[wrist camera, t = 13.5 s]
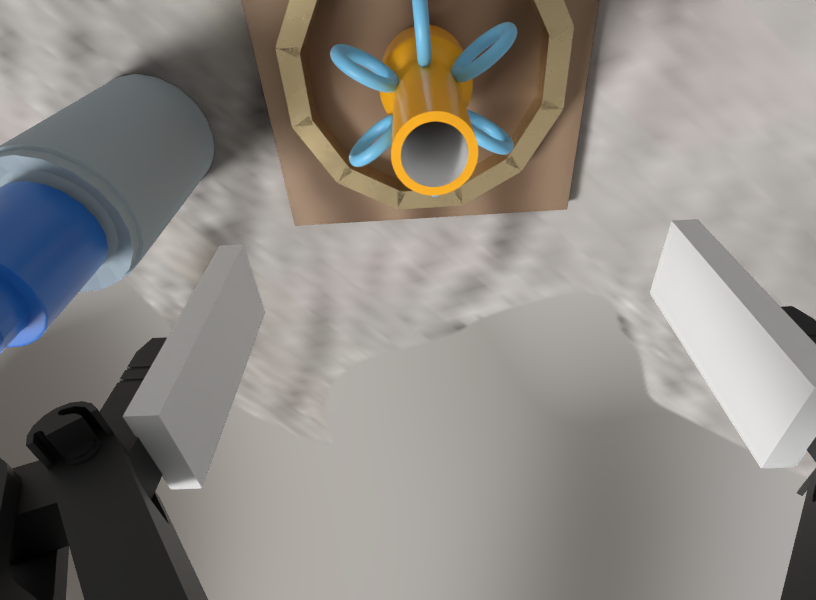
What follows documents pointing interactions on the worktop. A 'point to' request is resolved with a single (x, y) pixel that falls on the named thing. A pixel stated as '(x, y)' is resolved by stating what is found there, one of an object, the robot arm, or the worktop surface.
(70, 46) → the worktop surface
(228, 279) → the robot arm
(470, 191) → the tan flat ring
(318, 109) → the seat plate
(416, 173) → the cylinder
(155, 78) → the spray bottle
